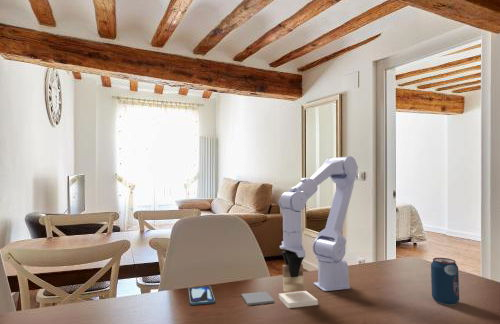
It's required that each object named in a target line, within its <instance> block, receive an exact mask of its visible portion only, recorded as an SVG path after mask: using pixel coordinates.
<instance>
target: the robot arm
mask: <svg viewBox="0 0 500 324" xmlns="http://www.w3.org/2000/svg"><path fill="white" fill-rule="evenodd" d="M322 163H323V164H322V166H320V167H319V168H318V169H317V171H315V172H314V173H313V174H312V176H311V177H302V178H301V179H300V180H299V183H298V184H296V185H295V186H293V187H292V186H291V188H290V190H289V191H285V192H283V193H282V194H281V196H280V198H279V200H278V202H277V203H278V206H279V208H280V209H281V214H282V233H283V234H282V239H283V240H282V241H281V245H279V249H281V250H283V251H281V255H282V257H283V259H284V263H285V265H288V264H289V269H290V275H291V277H298V275H299V270H300V266H301V264H303V261H304V259H305V258H306V250H305V249H304V245H303V228H302V227H303V225H302V222H303V221H302V219H303V218H302V216H303V215H302V210H304V209H305V207H306V203H307V202H308V200H309V199H310V198H311V197H313V196H314V195H315V193H317V192H318V189H319V188H318V186H319V185H320V184H322V183H324V181H326V180H327V179H328V178H330V180H331V181H332V183H334V184H335V185H336V188H335V192H334V195H333V199H332V202H331V207H330V209H329V213H328V217H327V221H326V223H325V228H323V229H322V230H321V231H318V233H317V237H316V238H315V239H314V241H313V243H312V251H313V254H314V255H315V256H316V259H317V275H318V276H317V278H318V279H317V280H318V281H314V282H313V285H315V286H316V287H317V288H319V289H320V290H321V291H323V292H329V291H330V292H331V291H340V290H349V289H351V286H350V275H349V273H350V272H349V271H350V270H349V265H348V262H347V261H346V259H344V258H345V255H346V245H347V239H346V238H345V236H344V235H343V234H342V231H343V227H344V224H345V220H346V216H347V213H348V209H349V205H350V202H351V197H352V194H353V189H354V185H355V181H356V177H357V173H358V169H359V166H358V164H357V161H356V159H355V158H354V156H352V155H351V156H350V155H347V156H338V157H327V159H326V160H324V161H323V162H322Z"/></svg>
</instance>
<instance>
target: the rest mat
mask: <svg viewBox="0 0 500 324" xmlns="http://www.w3.org/2000/svg"><path fill="white" fill-rule="evenodd" d="M240 295H241V298H242V300H244V302H245V303H246V305H247V306H254V305H257V306H258V305H264V304H273V303H275V300H274V298H273V297H272V296H271V295H270V294H269V293H268V292H267V291H258V292H257V291H255V292H248V293H241V294H240Z"/></svg>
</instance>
